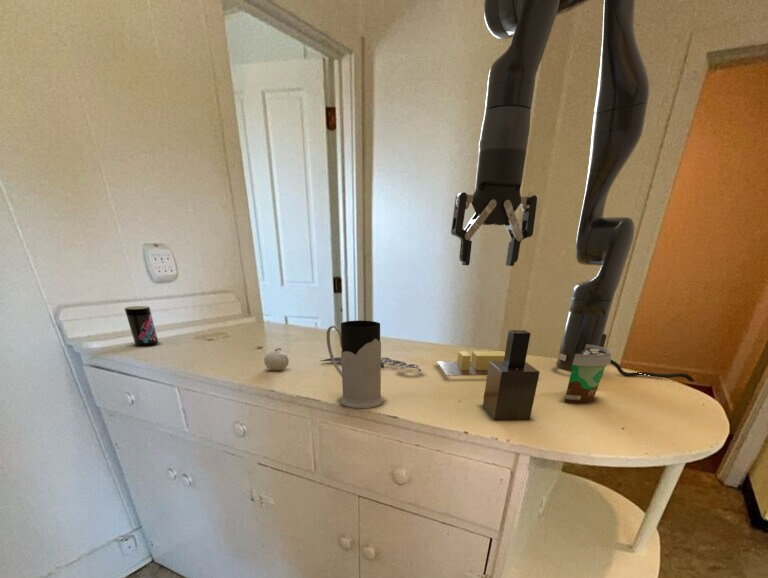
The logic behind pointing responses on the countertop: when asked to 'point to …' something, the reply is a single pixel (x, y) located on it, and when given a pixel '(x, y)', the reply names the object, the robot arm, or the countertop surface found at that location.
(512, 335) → the kitchen knife
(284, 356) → the garlic
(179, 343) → the countertop surface
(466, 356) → the butter slice
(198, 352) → the countertop surface
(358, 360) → the glass holder
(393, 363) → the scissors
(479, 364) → the butter
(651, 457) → the countertop surface
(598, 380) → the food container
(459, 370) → the rectangular tray
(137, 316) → the supplement container
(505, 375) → the knife block
